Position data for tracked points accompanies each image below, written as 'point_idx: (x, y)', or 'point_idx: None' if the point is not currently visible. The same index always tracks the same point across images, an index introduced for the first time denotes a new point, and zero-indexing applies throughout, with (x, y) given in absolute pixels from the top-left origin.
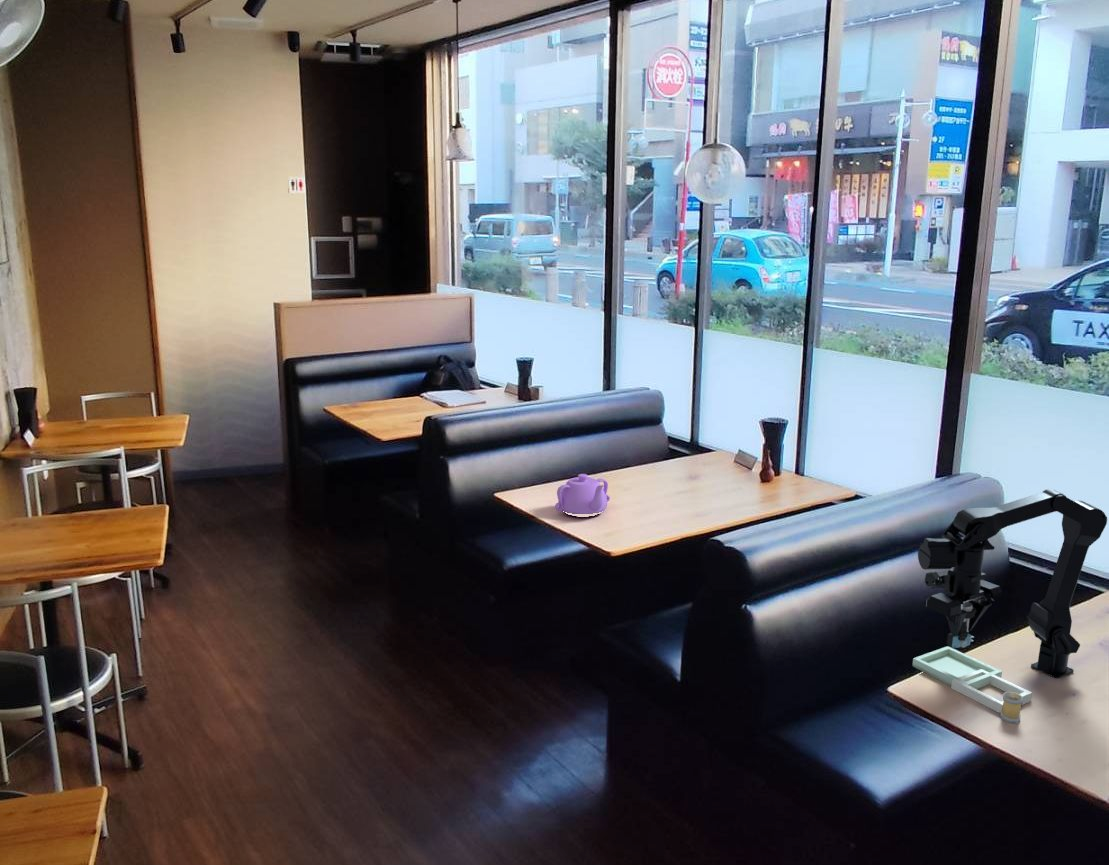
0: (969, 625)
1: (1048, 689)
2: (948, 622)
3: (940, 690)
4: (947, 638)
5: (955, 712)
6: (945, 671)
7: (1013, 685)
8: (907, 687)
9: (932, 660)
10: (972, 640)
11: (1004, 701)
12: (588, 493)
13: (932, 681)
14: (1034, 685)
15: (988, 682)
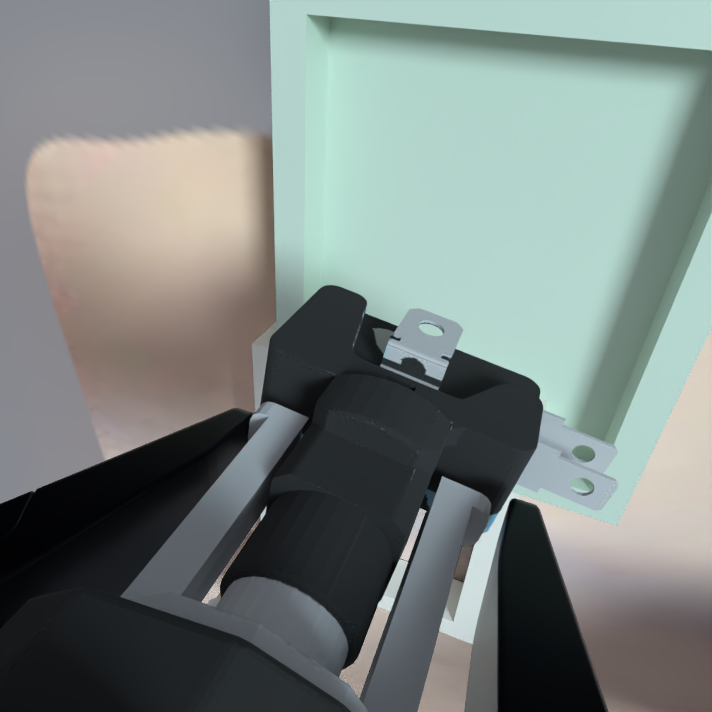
0: (481, 608)
1: (686, 662)
2: (58, 484)
3: (216, 287)
4: (295, 314)
5: (139, 404)
6: (396, 220)
7: (474, 583)
8: (87, 148)
9: (492, 37)
10: (592, 466)
11: (219, 595)
12: None
13: (254, 207)
14: (684, 614)
15: None
